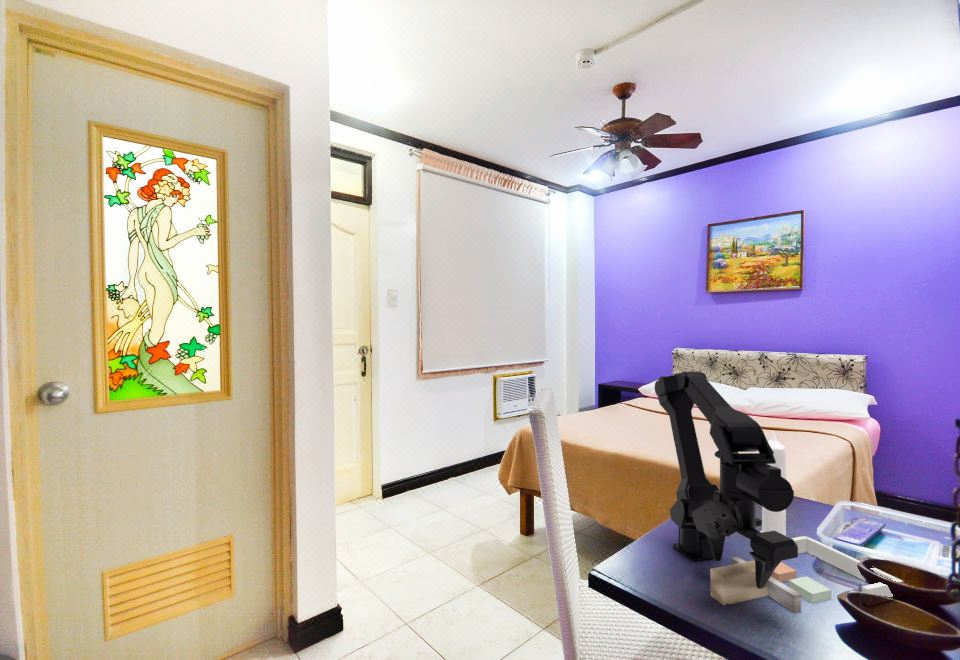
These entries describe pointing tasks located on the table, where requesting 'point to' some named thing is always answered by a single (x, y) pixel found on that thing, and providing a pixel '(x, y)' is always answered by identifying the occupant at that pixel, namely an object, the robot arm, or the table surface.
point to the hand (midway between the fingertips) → (737, 573)
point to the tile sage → (810, 589)
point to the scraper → (748, 586)
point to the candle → (778, 519)
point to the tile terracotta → (783, 573)
